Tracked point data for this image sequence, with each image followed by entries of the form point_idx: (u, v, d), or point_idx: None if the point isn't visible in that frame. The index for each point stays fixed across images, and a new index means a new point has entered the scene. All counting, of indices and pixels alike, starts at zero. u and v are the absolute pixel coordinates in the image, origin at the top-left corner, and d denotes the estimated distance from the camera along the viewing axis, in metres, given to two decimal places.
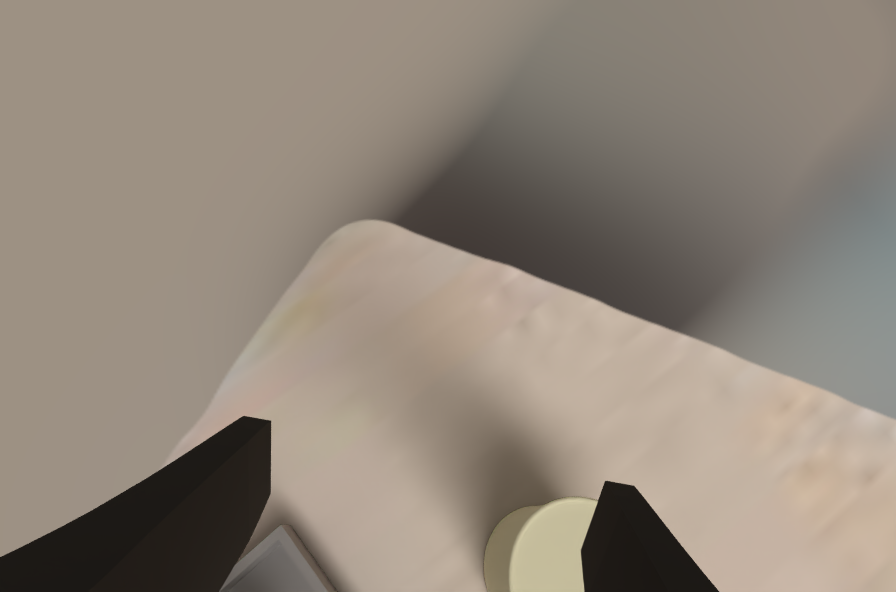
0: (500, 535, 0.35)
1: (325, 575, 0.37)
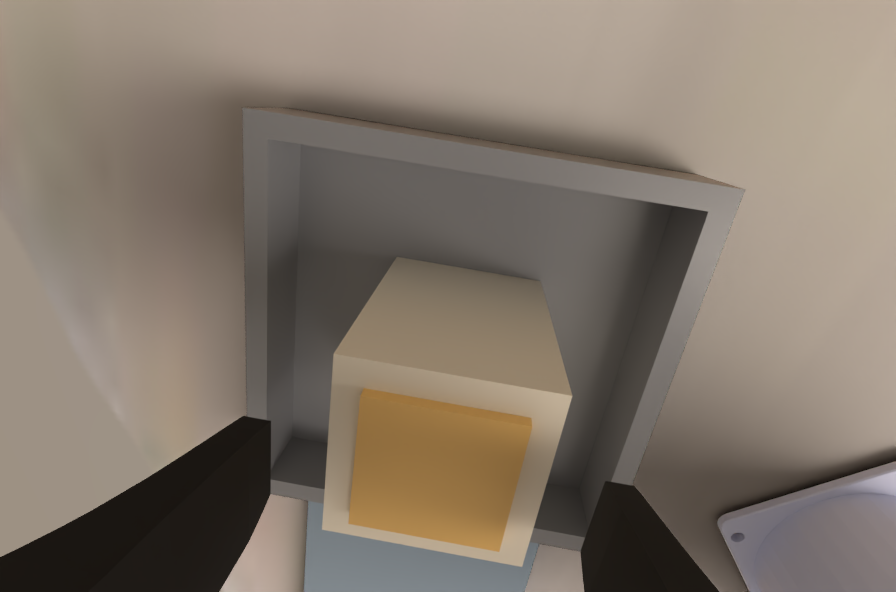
0: None
1: (431, 131, 0.15)
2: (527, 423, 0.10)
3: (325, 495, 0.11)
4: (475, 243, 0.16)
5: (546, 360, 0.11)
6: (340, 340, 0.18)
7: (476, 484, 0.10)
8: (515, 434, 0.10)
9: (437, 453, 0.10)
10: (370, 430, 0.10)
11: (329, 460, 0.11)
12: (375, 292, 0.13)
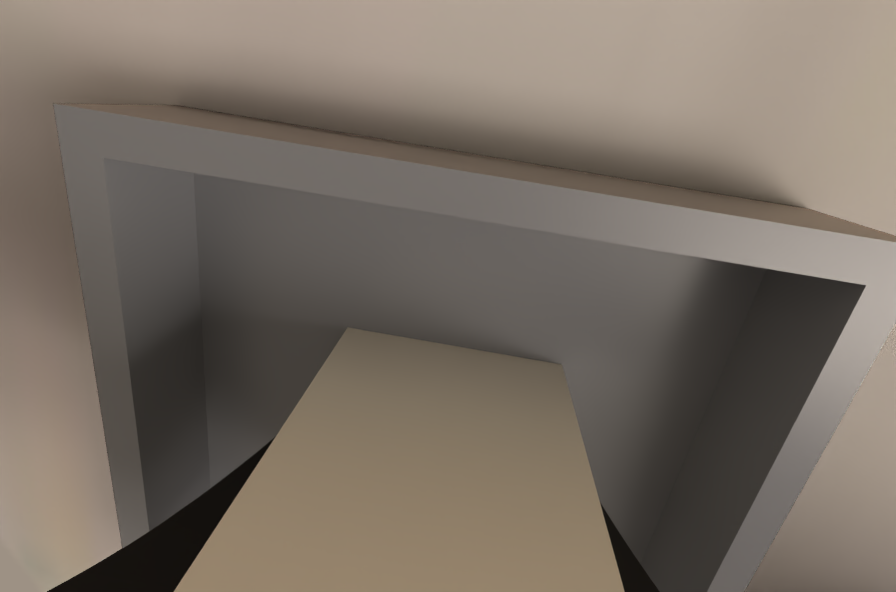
0: None
1: (394, 141, 0.10)
2: None
3: None
4: (464, 310, 0.11)
5: None
6: None
7: None
8: None
9: None
10: None
11: None
12: (291, 417, 0.08)
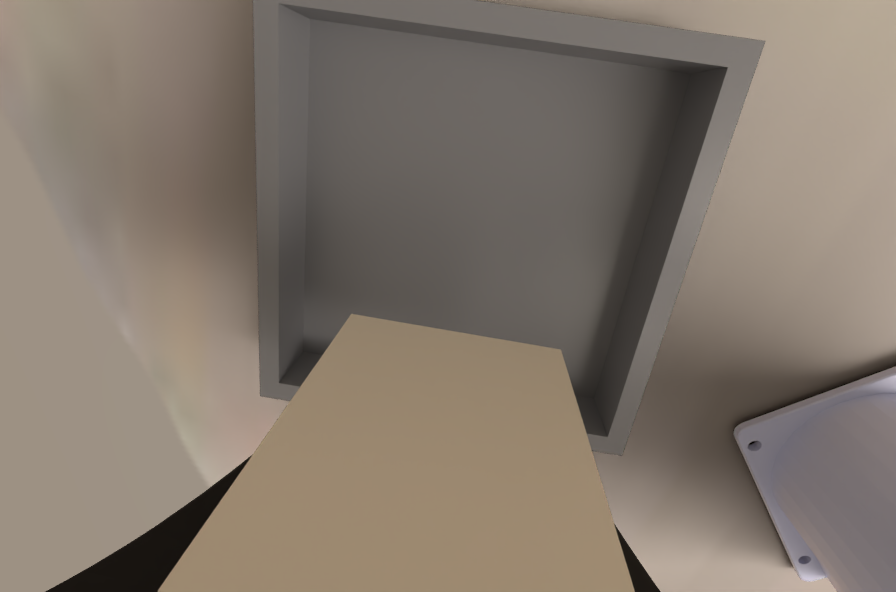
0: None
1: None
2: None
3: None
4: (487, 132, 0.16)
5: (593, 556, 0.06)
6: (351, 244, 0.17)
7: None
8: None
9: None
10: None
11: None
12: (299, 393, 0.08)
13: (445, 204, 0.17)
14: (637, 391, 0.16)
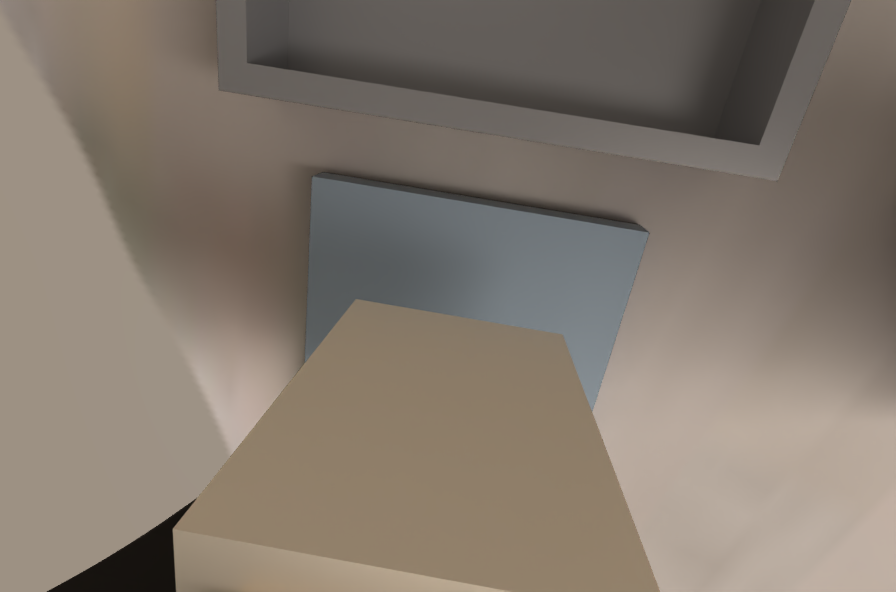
0: None
1: None
2: None
3: None
4: None
5: (599, 510, 0.06)
6: None
7: None
8: None
9: None
10: None
11: None
12: (306, 365, 0.08)
13: None
14: (819, 49, 0.10)
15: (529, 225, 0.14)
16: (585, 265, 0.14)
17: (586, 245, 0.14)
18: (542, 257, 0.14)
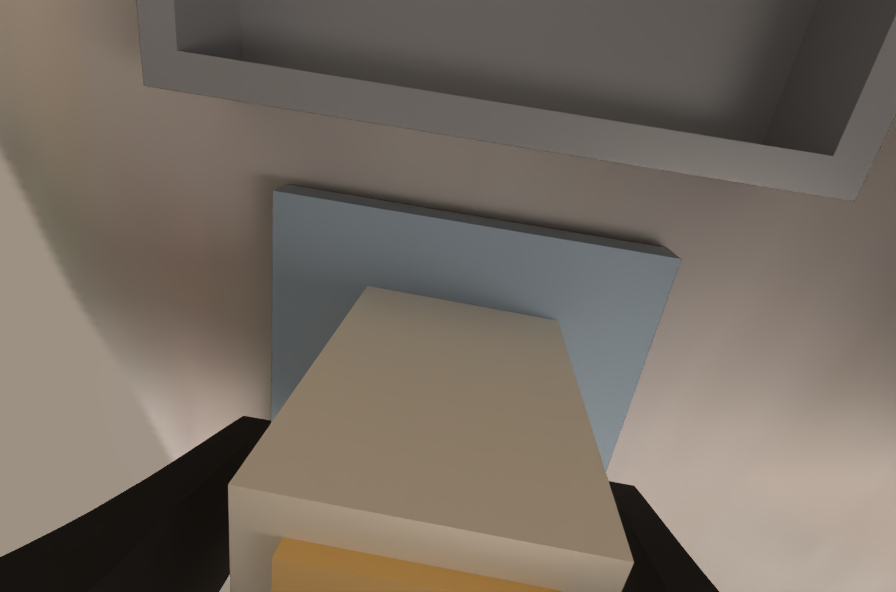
0: None
1: None
2: None
3: None
4: None
5: (581, 475, 0.07)
6: None
7: None
8: None
9: None
10: None
11: None
12: (326, 348, 0.09)
13: None
14: None
15: (535, 249, 0.12)
16: (602, 297, 0.12)
17: (603, 273, 0.12)
18: (551, 287, 0.12)
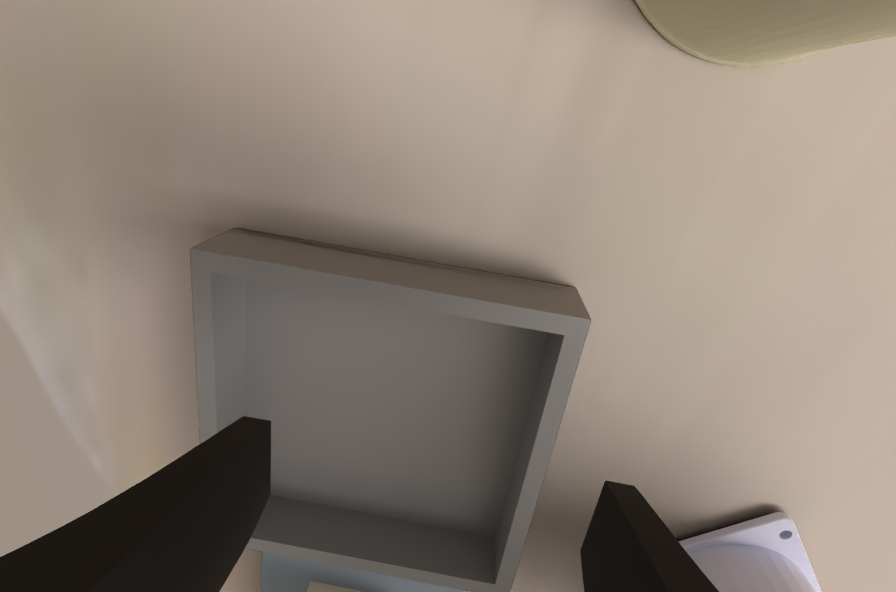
0: None
1: (354, 249, 0.18)
2: None
3: None
4: (394, 339, 0.19)
5: None
6: (285, 413, 0.21)
7: None
8: None
9: None
10: None
11: None
12: None
13: (362, 388, 0.20)
14: (515, 552, 0.19)
15: None
16: None
17: (427, 583, 0.23)
18: (402, 587, 0.24)
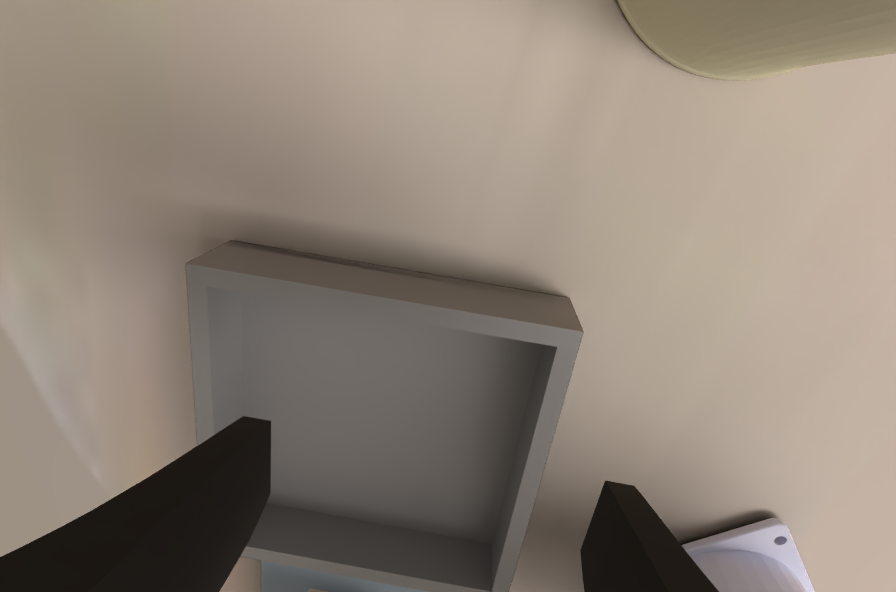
0: None
1: (349, 261, 0.18)
2: None
3: None
4: (389, 349, 0.19)
5: None
6: (282, 422, 0.21)
7: None
8: None
9: None
10: None
11: None
12: None
13: (358, 398, 0.20)
14: (511, 560, 0.19)
15: None
16: None
17: None
18: None
